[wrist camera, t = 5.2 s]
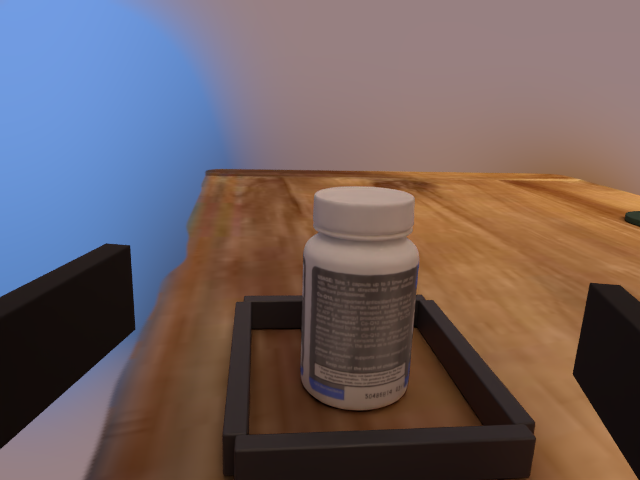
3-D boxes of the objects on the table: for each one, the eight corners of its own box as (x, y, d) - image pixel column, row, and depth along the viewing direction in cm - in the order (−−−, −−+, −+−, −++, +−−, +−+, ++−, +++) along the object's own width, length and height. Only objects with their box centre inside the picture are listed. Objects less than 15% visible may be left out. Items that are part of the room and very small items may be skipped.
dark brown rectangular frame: (541, 478, 18) (549, 437, 17) (221, 495, 16) (220, 451, 16) (426, 320, 30) (428, 294, 29) (236, 323, 28) (236, 295, 28)
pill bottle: (430, 395, 22) (451, 201, 20) (335, 426, 20) (347, 210, 18) (366, 348, 26) (378, 181, 24) (281, 369, 24) (284, 186, 21)
